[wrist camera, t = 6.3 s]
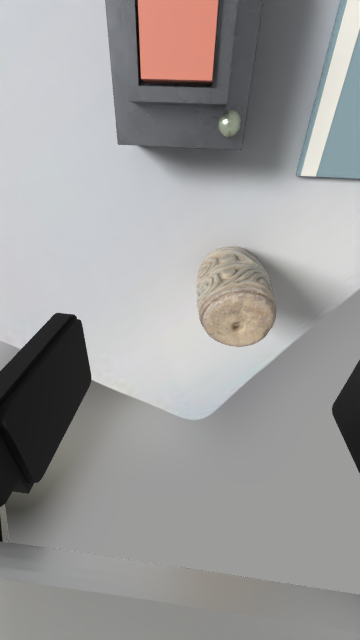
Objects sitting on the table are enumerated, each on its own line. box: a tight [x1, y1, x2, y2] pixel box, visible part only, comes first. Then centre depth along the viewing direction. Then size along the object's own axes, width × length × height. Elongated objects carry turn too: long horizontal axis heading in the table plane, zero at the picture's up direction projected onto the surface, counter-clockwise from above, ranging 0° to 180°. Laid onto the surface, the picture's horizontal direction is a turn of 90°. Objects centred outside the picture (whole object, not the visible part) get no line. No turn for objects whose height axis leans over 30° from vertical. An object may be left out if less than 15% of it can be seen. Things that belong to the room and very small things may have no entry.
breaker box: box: [105, 0, 263, 150], centre depth 19 cm, size 12×10×7 cm
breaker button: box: [138, 0, 219, 85], centre depth 16 cm, size 5×5×2 cm
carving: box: [197, 247, 276, 347], centre depth 27 cm, size 6×8×12 cm
